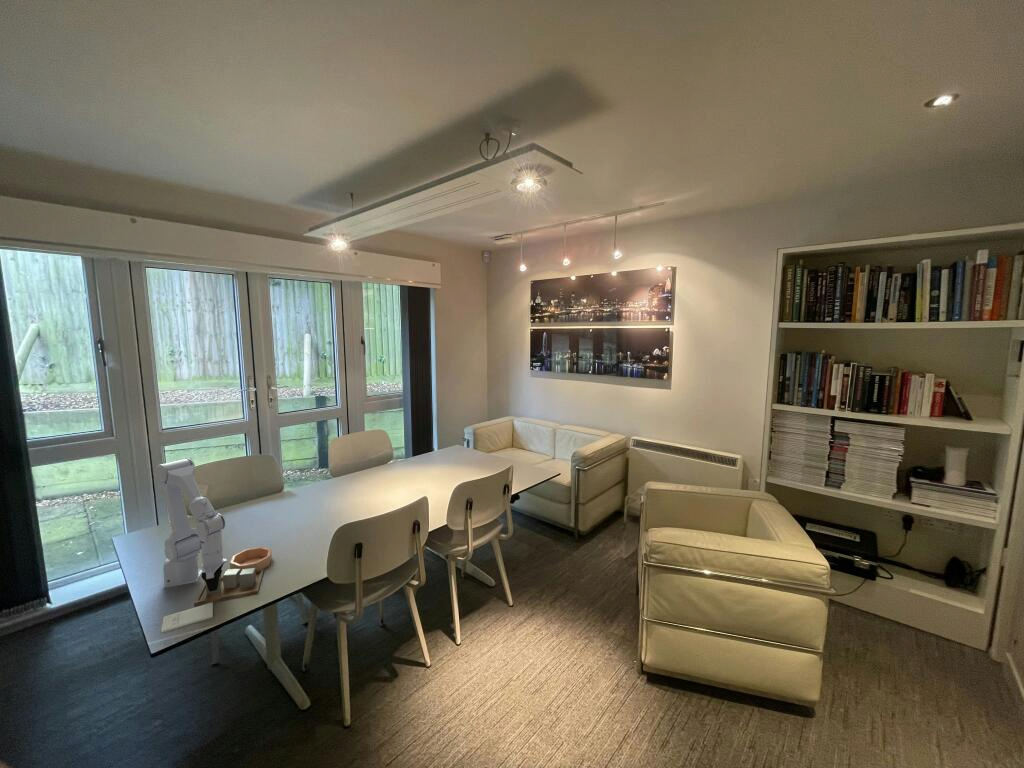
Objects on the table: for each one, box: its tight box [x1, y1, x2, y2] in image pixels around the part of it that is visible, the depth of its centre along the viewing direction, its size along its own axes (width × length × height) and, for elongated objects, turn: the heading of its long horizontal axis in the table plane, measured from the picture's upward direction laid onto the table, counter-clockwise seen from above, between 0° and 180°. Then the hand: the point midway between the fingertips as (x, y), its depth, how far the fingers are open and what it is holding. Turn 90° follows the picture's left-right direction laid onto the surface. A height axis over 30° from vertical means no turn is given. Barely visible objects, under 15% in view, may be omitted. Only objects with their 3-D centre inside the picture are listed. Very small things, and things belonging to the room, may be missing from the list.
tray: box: [193, 569, 265, 606], centre depth 142 cm, size 18×14×1 cm
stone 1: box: [206, 574, 222, 595], centre depth 140 cm, size 4×4×5 cm
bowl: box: [229, 546, 273, 573], centre depth 156 cm, size 13×13×4 cm
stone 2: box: [222, 568, 240, 588], centre depth 143 cm, size 4×4×5 cm
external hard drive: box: [160, 602, 214, 634], centre depth 127 cm, size 2×8×12 cm
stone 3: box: [239, 568, 256, 588], centre depth 144 cm, size 4×4×5 cm
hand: (214, 587), depth 140 cm, fingers closed on stone 1, 3 cm apart
